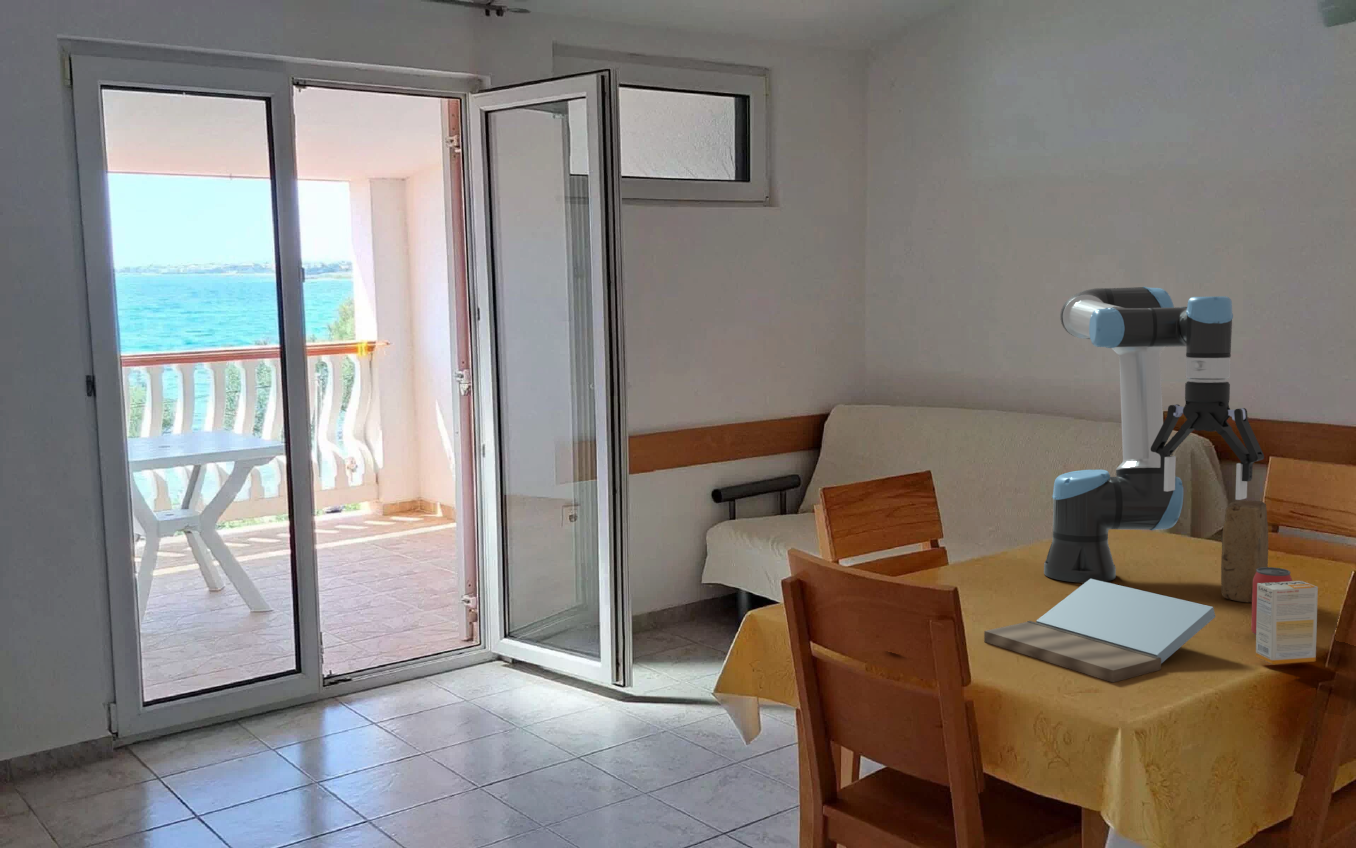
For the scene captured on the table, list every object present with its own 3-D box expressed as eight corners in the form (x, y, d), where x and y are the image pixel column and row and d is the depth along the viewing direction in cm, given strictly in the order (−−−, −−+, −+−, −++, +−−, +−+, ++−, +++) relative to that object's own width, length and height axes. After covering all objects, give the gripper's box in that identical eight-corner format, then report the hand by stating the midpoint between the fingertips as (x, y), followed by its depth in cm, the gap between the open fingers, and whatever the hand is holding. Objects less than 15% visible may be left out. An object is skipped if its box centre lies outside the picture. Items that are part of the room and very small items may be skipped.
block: (1256, 605, 234) (1260, 507, 232) (1217, 600, 239) (1220, 503, 237) (1270, 595, 242) (1274, 499, 240) (1232, 590, 247) (1235, 496, 245)
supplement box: (1298, 654, 202) (1300, 579, 200) (1316, 662, 197) (1319, 586, 196) (1253, 656, 201) (1256, 582, 199) (1270, 665, 196) (1273, 588, 195)
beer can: (1289, 641, 209) (1292, 576, 208) (1249, 637, 213) (1251, 572, 211) (1292, 633, 215) (1295, 568, 213) (1253, 628, 218) (1255, 565, 217)
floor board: (984, 641, 212) (984, 630, 212) (1030, 631, 218) (1030, 620, 218) (1112, 682, 188) (1113, 670, 188) (1160, 669, 194) (1161, 657, 194)
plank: (1038, 630, 218) (1035, 620, 217) (1092, 587, 225) (1090, 578, 224) (1159, 665, 196) (1157, 655, 195) (1215, 616, 203) (1213, 607, 202)
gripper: (1133, 379, 222) (1131, 489, 224) (1267, 384, 203) (1263, 505, 205) (1154, 377, 227) (1151, 485, 229) (1286, 382, 208) (1282, 500, 210)
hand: (1204, 494), depth 217 cm, fingers open, 13 cm apart
